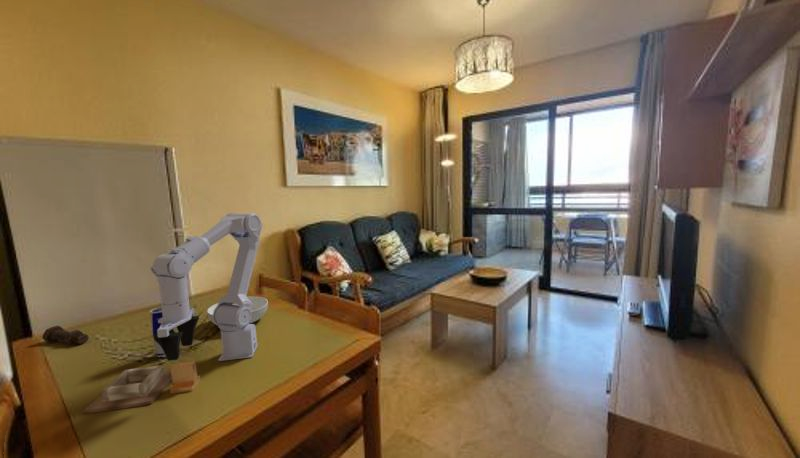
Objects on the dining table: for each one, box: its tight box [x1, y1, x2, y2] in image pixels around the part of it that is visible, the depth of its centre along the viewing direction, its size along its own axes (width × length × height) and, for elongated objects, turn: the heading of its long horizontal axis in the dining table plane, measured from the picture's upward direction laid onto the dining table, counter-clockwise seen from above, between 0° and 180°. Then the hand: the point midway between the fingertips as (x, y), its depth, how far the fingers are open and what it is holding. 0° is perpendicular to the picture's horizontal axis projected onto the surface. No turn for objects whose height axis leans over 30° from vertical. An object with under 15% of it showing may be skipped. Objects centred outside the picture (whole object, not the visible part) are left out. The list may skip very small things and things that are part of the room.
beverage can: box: [149, 306, 167, 358], centre depth 100 cm, size 5×5×15 cm
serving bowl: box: [206, 296, 269, 326], centre depth 124 cm, size 21×21×7 cm
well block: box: [82, 364, 172, 414], centre depth 82 cm, size 14×14×4 cm
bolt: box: [41, 325, 89, 346], centre depth 111 cm, size 6×5×15 cm
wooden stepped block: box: [169, 360, 201, 395], centre depth 83 cm, size 5×5×6 cm
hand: (180, 352), depth 83 cm, fingers open, 7 cm apart
